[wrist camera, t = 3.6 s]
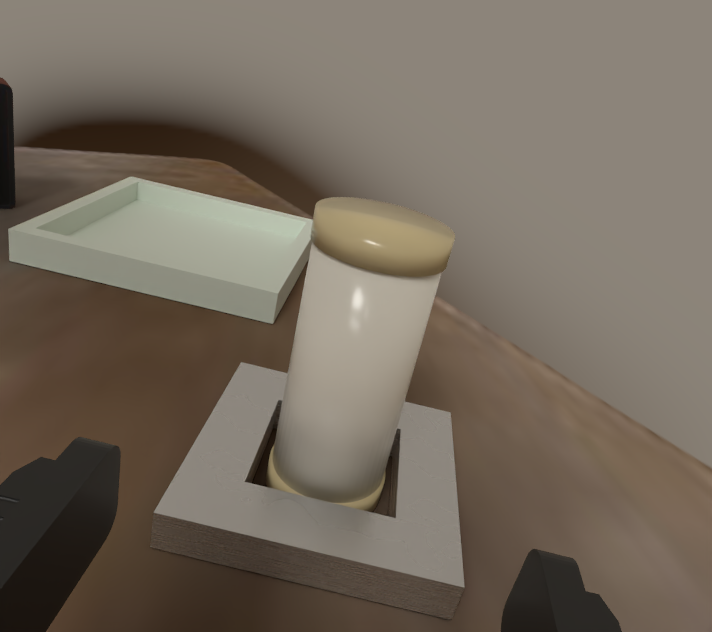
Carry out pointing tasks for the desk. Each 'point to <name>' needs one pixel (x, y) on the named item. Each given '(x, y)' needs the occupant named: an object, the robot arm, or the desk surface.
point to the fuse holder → (318, 508)
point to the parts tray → (172, 246)
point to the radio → (6, 147)
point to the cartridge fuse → (355, 347)
